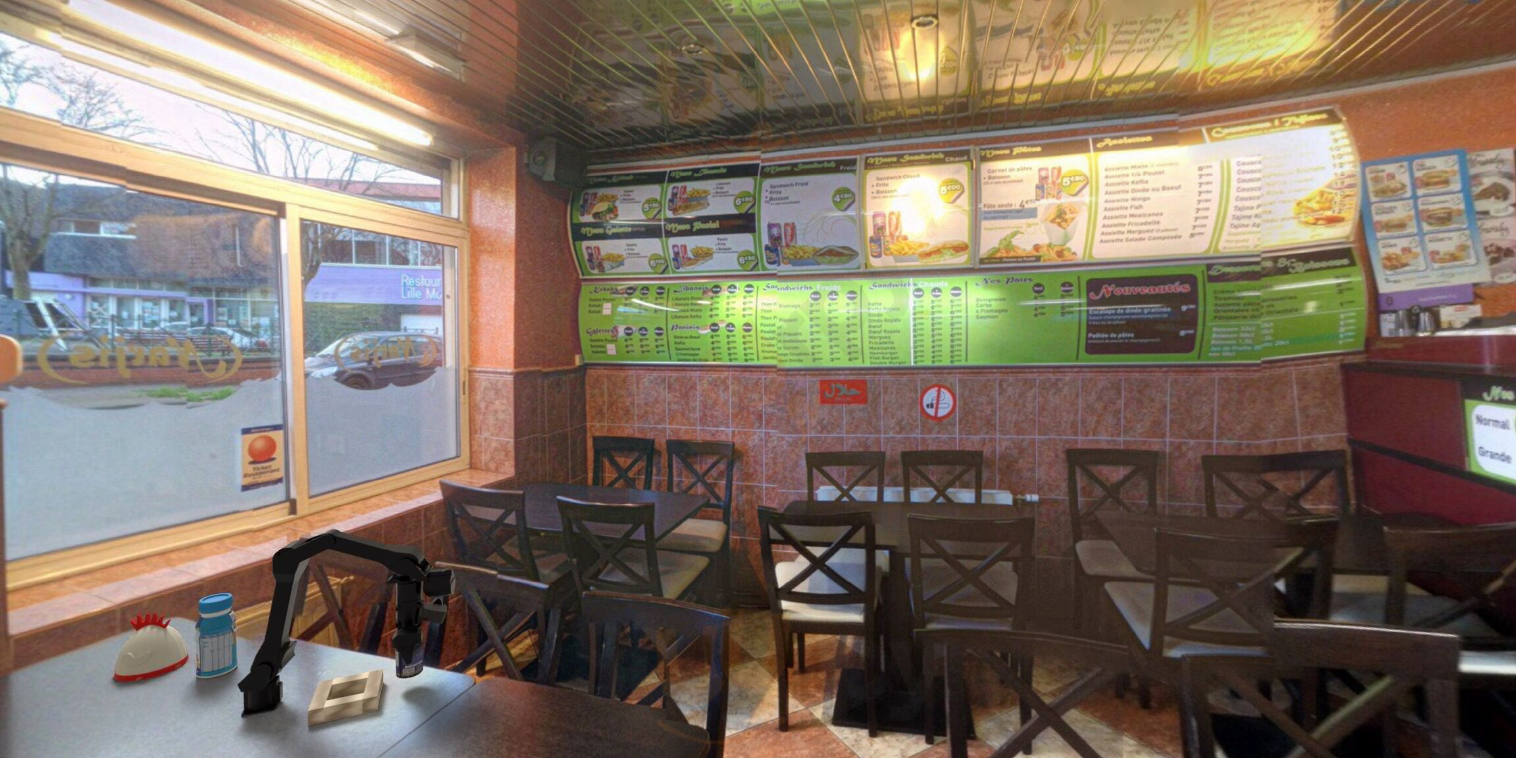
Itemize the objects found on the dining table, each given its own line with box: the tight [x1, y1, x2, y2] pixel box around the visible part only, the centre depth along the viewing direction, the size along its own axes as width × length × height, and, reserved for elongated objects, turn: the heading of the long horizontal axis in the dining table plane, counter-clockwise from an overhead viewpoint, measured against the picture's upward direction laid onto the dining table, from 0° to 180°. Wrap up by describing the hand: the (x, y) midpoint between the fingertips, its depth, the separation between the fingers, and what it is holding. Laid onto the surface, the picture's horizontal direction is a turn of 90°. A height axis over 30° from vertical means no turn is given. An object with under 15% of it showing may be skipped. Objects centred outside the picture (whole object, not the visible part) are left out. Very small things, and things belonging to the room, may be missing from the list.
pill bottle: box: [394, 627, 424, 680], centre depth 150 cm, size 6×6×11 cm
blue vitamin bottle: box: [194, 592, 238, 679], centre depth 156 cm, size 8×8×20 cm
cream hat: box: [113, 611, 189, 683], centre depth 158 cm, size 14×14×15 cm
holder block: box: [307, 668, 384, 727], centre depth 144 cm, size 14×14×4 cm
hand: (409, 657), depth 150 cm, fingers closed on pill bottle, 6 cm apart
